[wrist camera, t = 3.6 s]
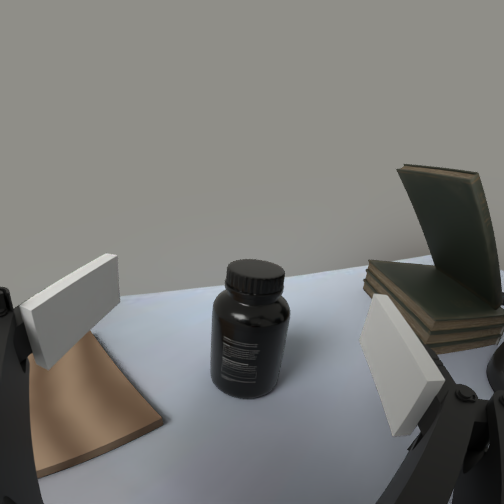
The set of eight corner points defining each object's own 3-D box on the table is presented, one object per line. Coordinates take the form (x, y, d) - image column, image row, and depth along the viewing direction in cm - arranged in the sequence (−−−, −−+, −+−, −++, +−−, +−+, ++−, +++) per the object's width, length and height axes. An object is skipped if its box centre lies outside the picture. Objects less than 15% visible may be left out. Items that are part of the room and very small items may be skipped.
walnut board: (90, 335, 29) (88, 328, 29) (163, 424, 20) (162, 417, 19) (-22, 367, 17) (-25, 360, 17) (4, 487, 8) (-2, 481, 8)
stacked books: (497, 346, 32) (541, 201, 25) (418, 360, 31) (472, 167, 24) (434, 292, 54) (459, 181, 47) (360, 289, 53) (385, 159, 46)
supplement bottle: (290, 381, 27) (314, 273, 24) (241, 411, 23) (256, 293, 19) (245, 350, 32) (257, 250, 28) (196, 371, 27) (198, 261, 24)
